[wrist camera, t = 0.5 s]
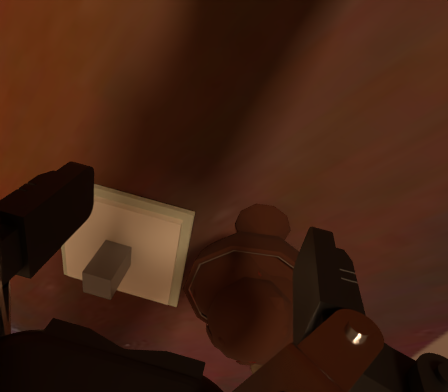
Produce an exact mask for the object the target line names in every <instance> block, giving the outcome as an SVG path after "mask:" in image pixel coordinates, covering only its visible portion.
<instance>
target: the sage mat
mask: <svg viewBox="0 0 448 392" xmlns="http://www.w3.org/2000/svg"><path fill="white" fill-rule="evenodd" d="M94 195H95V196H98V197H102V198H105V199H109V200H112V201H116V202H120V203H123V204H127V205H130V206H134V207H138V208H141V209H145V210H148V211H152V212H155V213H159V214H163V215H166V216H170V217H173V218H177V219H180V220H183V224H182V230H181V236H180V242H179V248H178V254H177V260H176V266H175V271H174V277H173V283H172V289H171V295H170V300H169V303H168V305H171V306H174V307H177V304H178V300H179V295H180V290H181V284H182V279H183V274H184V269H185V263H186V258H187V253H188V248H189V243H190V237H191V232H192V227H193V222H194V217H195V212H194V211H190V210H186V209H183V208H179V207H176V206H172V205H168V204H165V203H161V202H158V201H154V200H150V199H147V198H143V197H140V196H136V195H133V194H129V193H125V192H122V191H118V190H115V189H111V188H107V187H104V186H100V185H97V184H94ZM61 249H62V259H63V269H64V275H67V265H66V254H65V243H64V244H63V245H62V246H61Z"/></svg>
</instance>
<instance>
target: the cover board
mask: <svg viewBox="0 0 448 392" xmlns="http://www.w3.org/2000/svg"><path fill="white" fill-rule="evenodd" d="M182 224H183V220H180V219H177V218H173V217H170V216H166V215H163V214H159V213H155V212H152V211H148V210H145V209H141V208H138V207H134V206H130V205H127V204H123V203H120V202H116V201H112V200H109V199H105V198H102V197H98V196H95V195H94V205H93V210H92V213H91V215H90V217H89V218H88V219H87V221H86V222H85V223H84V224H83V225H82V226H81V227H80V228H79V229H78V230H77V231H76V232H75V233H74V234H73V235H72V236H71V237H70V238H69V239H68V240H67V241H66V242H65V254H66V265H67V276H70V277H73V278H77V279H80V280H82V281H83V292H85V293H89V294H92V295H95V296H99V297H102V298H106V299H109V300H111V299H112V297H113V295H114V293H115V292H116V290H118V291H121V292H125V293H128V294H131V295H135V296H138V297H142V298H145V299H149V300H152V301H156V302H159V303H162V304H166V305H168V303H169V300H170V295H171V289H172V283H173V277H174V271H175V266H176V260H177V254H178V248H179V242H180V236H181V230H182Z"/></svg>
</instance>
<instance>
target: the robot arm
mask: <svg viewBox="0 0 448 392" xmlns="http://www.w3.org/2000/svg"><path fill="white" fill-rule="evenodd" d="M93 205H94V169H93V168H92V167H90V166H87V165H83V164H79V163H76V162H69V163H67V164H66V165H64V166H63V167H61V168H60V169H58V170H57V171H50V172H47V173H44V174H40V175H38V176H36V177H35V178H33V179H32V180H30V181H29V182H28V184H24V185H23V186H21V187H20V188H19V190H18V189H17V190H15V191H14V192H12V193H11V194H9V195H8V196H6V197H5V198H3V199H1V200H0V392H223V391H222V390H221V389H220V388H219V387H218V386H217V385H216V384H215V383H213V382H212V381H211V380H210V379H208V378H206V377H205V376H203V371H204V366H205V362H202V361H199V360H195V359H192V358H189V357H185V356H182V355H178V354H175V353H171V352H168V351H149V350H128V349H123V348H121V347H119V346H118V345H116V344H114V343H113V342H111V341H109V340H108V339H106V338H105V337H103V336H101V335H100V334H98V333H96V332H95V331H93V330H91V329H89V328H86V327H82V326H79V325H76V324H72V323H69V322H65V321H62V320H58V319H55V318H53V319H52V320H51V322H50V323H49V324H48V326H47V327H46V328H45V329H44V330H28V331H22V332H17V333H13V334H11V287H10V279H11V278H12V277H13V276H15V275H19V276H23V277H26V278H30V279H31V278H32V277H33V276H34V275H35V273H36V272H37V271H38V270H39V269H40V268H41V267H42V266H43V265H44V264H45V263H46V262H47V261H48V260H49V259H50V258H51V257H52V256H53V255H54V254H55V253H56V252H57V251H58V250H59V249H60V248H61V246H62V245H63V244H64V243H65V242H66V241H67V240H68V239H69V238H70V237H71V236H72V235H73V234H74V233H75V232H76V231H77V230H78V229H79V228H80V227H81V226H82V225H83V224H84V223H85V222H86V221H87V219H88V218H89V217H90V215H91V213H92V210H93ZM232 392H448V359H447V358H445V357H443V356H441V355H438V354H434V353H425V354H422V355H421V356H420V357H419V358H418V359H417V360H416V361H415V360H413V359H411V358H410V357H408V356H406V355H404V354H402V353H400V352H399V351H397V350H395V349H393V348H392V347H390V346H388V345H387V344H386V343H384V338H383V335H382V332H381V331H380V329H379V328H378V326H377V325H376V324H375V323H374V322H373V321H372V320H371V319H370V318H368V317H367V316H366V315H365V311H364V307H363V303H362V299H361V295H360V291H359V287H358V284H357V278H356V275H355V270H354V266H353V262H352V260H351V259H350V257H349V256H348V255H347V253H346V252H345V251H344V250H342V249H339V248H336V247H335V242H334V236H333V233H332V232H330V231H326V230H322V229H319V228H315V227H310V228H309V230H308V232H307V235H306V237H305V239H304V242H303V244H302V247H301V249H300V252H299V254H298V257H297V259H296V262H295V265H294V270H293V342H292V343H290V344H288V345H287V346H285V347H284V348H283V349H282V350H281V351H279V352H278V353H277V354H276V355H275V356H274V357H272V358H271V359H270V360H269V361H268V362H266V363H265V364H264V365H263V366H262V367H261V368H259V369H258V370H257V371H256V372H255V373H254V374H252V375H251V376H250V377H249V378H248V379H246V380H245V381H244V382H243V383H242V384H241V385H239V386H238V387H237V388H236V389H235V390H234V391H232Z"/></svg>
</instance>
